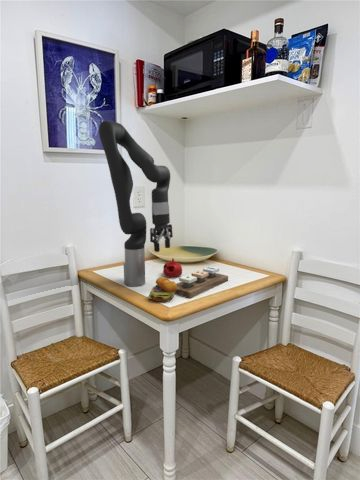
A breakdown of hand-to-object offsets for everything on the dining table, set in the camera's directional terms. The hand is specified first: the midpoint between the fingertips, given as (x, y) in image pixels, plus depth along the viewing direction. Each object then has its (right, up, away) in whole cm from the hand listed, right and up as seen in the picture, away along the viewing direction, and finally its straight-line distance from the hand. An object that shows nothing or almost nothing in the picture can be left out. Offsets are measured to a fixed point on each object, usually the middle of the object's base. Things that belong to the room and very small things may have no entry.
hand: (162, 249), depth 146 cm
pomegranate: (+4, -14, +23) cm, 27 cm away
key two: (+17, -15, +7) cm, 23 cm away
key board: (+17, -17, +7) cm, 25 cm away
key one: (+11, -16, 0) cm, 20 cm away
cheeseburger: (+1, -20, -7) cm, 22 cm away
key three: (+23, -13, +14) cm, 30 cm away
